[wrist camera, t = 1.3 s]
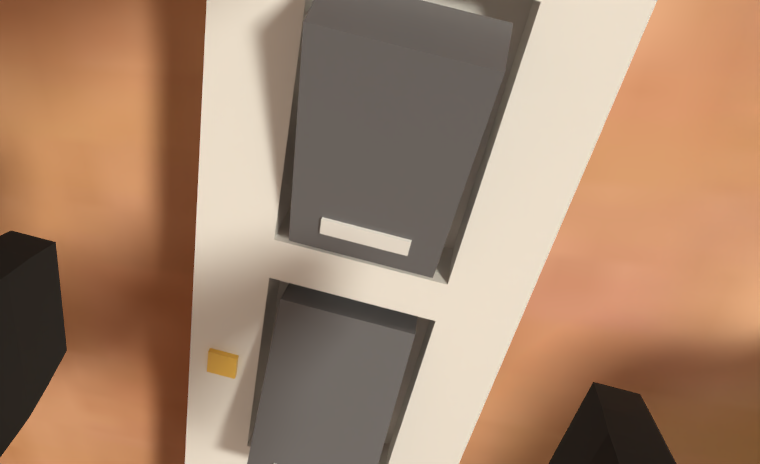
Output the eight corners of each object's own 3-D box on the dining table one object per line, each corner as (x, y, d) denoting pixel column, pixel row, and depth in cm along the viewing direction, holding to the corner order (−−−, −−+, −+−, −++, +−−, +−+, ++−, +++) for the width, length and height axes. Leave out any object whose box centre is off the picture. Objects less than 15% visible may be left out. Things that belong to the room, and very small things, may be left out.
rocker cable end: (513, 23, 13) (504, 74, 12) (442, 231, 17) (431, 280, 16) (324, -24, 13) (302, 24, 12) (305, 196, 17) (288, 242, 16)
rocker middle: (419, 308, 19) (414, 335, 17) (368, 486, 21) (361, 523, 20) (292, 275, 19) (279, 300, 18) (256, 456, 21) (241, 491, 20)
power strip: (785, -436, 12) (868, -486, 9) (401, 544, 29) (387, 633, 27) (304, -547, 12) (232, -633, 9) (212, 494, 30) (178, 576, 27)
